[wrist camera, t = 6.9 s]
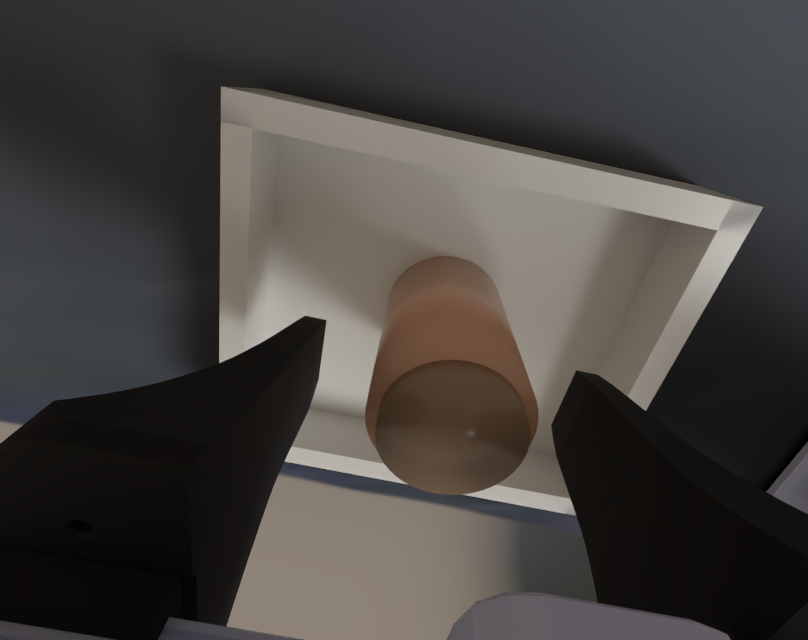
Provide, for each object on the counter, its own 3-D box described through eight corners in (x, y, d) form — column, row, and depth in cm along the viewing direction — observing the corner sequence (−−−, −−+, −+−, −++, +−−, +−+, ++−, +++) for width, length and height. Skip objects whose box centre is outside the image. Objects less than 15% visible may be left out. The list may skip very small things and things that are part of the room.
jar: (519, 276, 15) (578, 394, 9) (475, 370, 17) (500, 520, 11) (406, 240, 14) (390, 339, 9) (374, 340, 16) (342, 478, 10)
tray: (699, 186, 14) (763, 206, 11) (563, 459, 19) (584, 517, 17) (262, 88, 13) (221, 86, 11) (248, 399, 19) (218, 449, 16)
